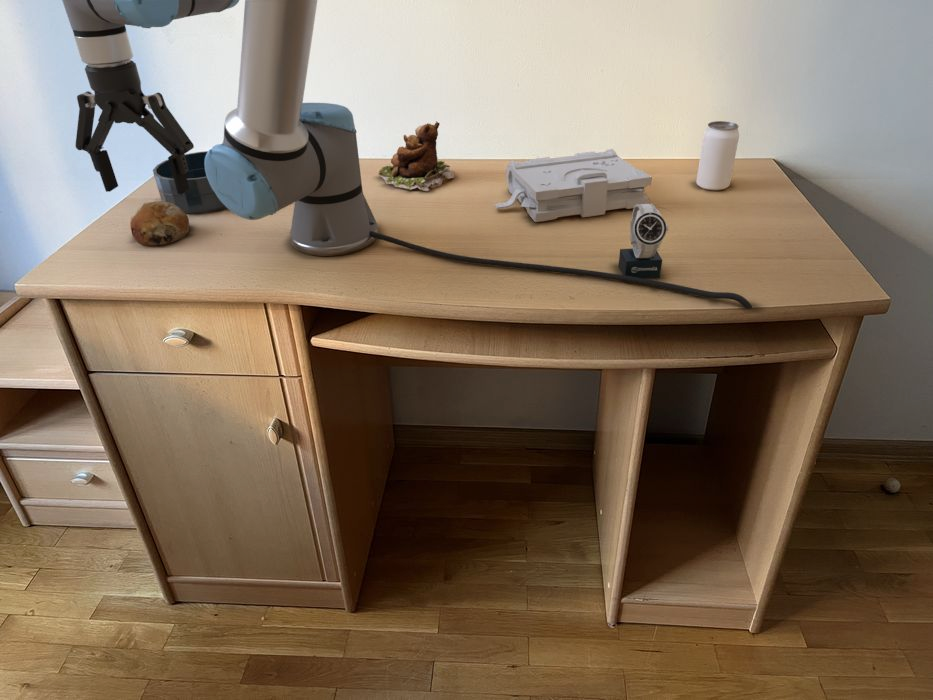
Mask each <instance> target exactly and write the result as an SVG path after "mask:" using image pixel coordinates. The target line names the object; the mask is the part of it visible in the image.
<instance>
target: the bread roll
mask: <svg viewBox="0 0 933 700" xmlns="http://www.w3.org/2000/svg"><path fill="white" fill-rule="evenodd" d="M189 222H190V219H189V216H188V215H187V213H185V212H184V211H183V210H182V209H180V208H179V207H177V206H176V205H173V204H171V203H168V202H164V201H162V200H155V201H150V202H144V203H143V205H141V206H140V207H139V208H138V209H137V210H136V212H135V213H134V215H133V216H131V218H130V231H131V235H132V238H133V239H134V240H135V241H136V242H137V243H138V244H140V245H142V246H164V245H167V244H171V243H174V242H176V241H179V240H180V239H182V238H184V237H186V235H187V233H189V231H190V223H189Z"/></svg>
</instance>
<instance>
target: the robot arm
mask: <svg viewBox="0 0 933 700" xmlns="http://www.w3.org/2000/svg"><path fill="white" fill-rule="evenodd" d="M61 1H62V4H63V6H64V9H65V13H66V15H67V19H68V22H69V25H70V28H71V30H72V34H73V37H74V41H75V44H76V47H77V49H78V54H79V57H80V60H81V62H82V63H83V64H86V65H85V68H84V71H85V74H86V77H87V80H88V83H89V87H90V89H91V90H92V91H93V92H94V94H93V93H92V92H91V91H89V90H88V91H87V90H86V91H85V92H82V93H80V94H77V96H76V101H77V104H78V108H79V109H78V120H77V127H76V135H75V136H76V137H75V146H74V147H75V148H76V150H77V151H85V152H86V153H87V154H88V155H89V156H90V159H91V163H92V165H93V167H94V170H95V172H96V173H97V172H98V173H99V175H100V178H101V181H102V185H103V187H104V190H105V192H107V193H110V192H112V191H113V190H115V189H116V188H118V187H119V183H118V180H117V178H116V175H115V174H116V173H115V172H114V171H115V170H114V168H113V164H112V163H111V159H110V155H109V153H108V150H107V149H104V144H105V142H106V139H107V137H108V135H109V133H110V131H111V129H112V127H113V125H114V123H115V124H121V123H126V124H136V125H137V126H139V127H141V128H143V129H144V130H145V131H146V132H147V133H148V134H149V135H150V136H151V137H152V138H153V139H154V140H155V141H157V142H158V143H159V144H160V145H161V146H162V147H163V148H164V149H165V150H166V151H167V152H168V153H169V154H170V155H169V156H168V157H167V160H168V159H169V163H170V167H171V170H172V174H173V178H174V181H175V185H176V189H177V192H178V194H183V193H185V192H186V191H187V190H188V189H189V185H188V181H187V177H186V174H185V173H187V172H188V166H187V162H186V158H185V154H188V152H190V151H192V150H193V149H194V147H195V145H194V142H192V140H191V139H190V137H189V136H188V134H187V133H186V132H185V130H184V129H183V127H182V125H180V124H179V122H178V121H177V119H176V118H175V116H174V115H173V113H172V112H171V111H170V109H169V108H168V107H167V105H166V102H165V99H164V96H163V95H162V93H161V92H156V93H153V94H149V95H146V94H144V93H143V90H142V81H141V77H140V74H139V70H138V67H137V64H136V62H134V60H132V59H133V57H134V53H133V51H132V47H131V46H132V45H131V43H130V38H129V35H128V31H127V28H126V26H134V27H138V28H142V29H151V28H165V27H167V26H169V25H170V24H171V23H172V22H173V21H174V20H179V19H184V18H189V17H194V16H199V15H200V16H201V15H205V14H211V13H212V14H213V13H221V12H224V11H225V10H229V9H232V8H235V6H237V5H238V4H239V1H240V0H61ZM317 6H318V0H244V9H243V25H242V26H243V27H242V35H241V36H242V38H241V50H240V51H241V52H240V65H239V78H238V89H237V90H238V92H237V93H238V94H237V104H236V105H237V106H236V107H235V108H234V109H231V111H229V112H228V113H227V114H226V116H225V119H224V127H223V128H224V129H223V140H222V143H220V144H215V145H213V146H212V148H211V149H208V150H207V151H208V152H207V154H206V156H205V172H206V176H207V179H208V181H209V183H210V186H211V188H212V189H213V191H214V192H215V193H216V195H217V197H218V198H219V200H220V201H221V202H222V203H223V204H224V205H225V206H226V207H227V208H226V209H228V210H229V211H230V212H232V213H233V214H235V215H236V216H237V217H239V218H242V219H245V220H248V221H257V220H260V219H263V218H265V217H268V216H272V215H274V214H276V213H277V212H279V211H281V210H283V209H285V208H286V207H288V206H290V205H292V204H294V205H293V206H294V207H293V212H292V218H291V226H290V238H291V244H292V246H293V248H294V249H295V250H297V251H298V252H300V253H304V254H306V255H311V256H319V257H332V256H342V255H347V254H351V253H355V252H358V251H360V250H361V251H362V250H363V249H365V248H367V247H369V246H370V245H371V244H374V242H375V241H376V240H377V239H378V240H381V241H384V242H388V243H391V244H393V245H397V246H400V247H403V248H405V249H409V250H412V251H416V252H420V253H422V254H427V255H430V256H434V257H438V258H442V259H446V260H450V261H451V260H452V261H456V262H462V263H469V264H475V265H476V264H477V265H483V266H484V265H485V266H493V267H494V266H495V267H502V268H510V269H521V270H530V271H537V272H538V271H539V272H548V273H549V272H550V273H556V274H557V273H558V274H566V275H574V276H583V277H590V278H591V277H592V278H598V279H605V280H610V281H611V280H612V281H617V282H618V281H619V282H625V283H631V284H637V285H643V286H648V287H652V288H659V289H664V290H668V291H674V292H679V293H683V294H688V295H692V296H697V297H703V298H707V299H715V300H716V299H722V300H723V299H724V300H732V301H736V302H737V303H739V304H741V305H742V306H743V308H744V309H745V308H746V309H753V306H752V304H751V303H750V302H749V300H748V299H747V298H745V297H744V296H743V295H740V294H738V293H735V292H727V291H724V292H723V291H710V290H709V291H708V290H704V289H700V288H699V289H698V288H693V287H688V286H684V285H679V284H675V283H670V282H665V281H658V280H653V279H650V278H645V279H643V278H637V277H632V276H625V275H622V274H618V273H611V272H605V271H604V272H603V271H597V270H589V269H581V268H573V267H564V266H554V265H546V264H537V263H527V262H526V263H525V262H517V261H509V260H498V259H490V258H480V257H472V256H465V255H460V254H454V253H450V252H445V251H440V250H436V249H432V248H429V247H424V246H422V245H418V244H415V243H411V242H409V241H405V240H402V239H399V238H395V237H393V236H389V235H386V234H382V233H379V229H378V223H377V220H376V218H375V216H374V214H373V212H372V209H371V207H370V204H369V203H368V201H367V199H366V197H365V194H364V191H363V184H362V183H363V182H362V175H361V174H362V173H361V164H360V158H359V157H360V156H359V149H358V140H357V129H356V126H355V121H354V115H353V113H352V111H351V110H350V109H349V108H348V107H346V106H344V105H341V104H337V103H329V102H304V95H305V91H306V90H305V89H306V82H307V75H308V69H309V68H308V67H309V61H310V54H311V48H312V40H313V33H314V27H315V21H316V14H317V8H318V7H317ZM96 106H97V107H98V108H99V109H100V110H101V113H100V114H99V117H98V123H97V125H96V127H95V129H94V131H93V128H94V120H95V113H96ZM146 107H147V108H146ZM150 109H151V111H152V112H151V111H150ZM155 118H156V119H157V120H156V119H155Z"/></svg>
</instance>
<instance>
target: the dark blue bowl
mask: <svg viewBox="0 0 933 700" xmlns="http://www.w3.org/2000/svg"><path fill="white" fill-rule="evenodd" d="M208 151H209V150H205V151H196V152H189V153H185V158H186V162H187V166H188V172H187V173H185V174H186V177H187V181H188V185H189V189H188V190H187V191H186V192H185V193H183V194H178V192H177V189H176V185H175V181H174V178H173V174H172V170H171V167H170V163H169V159H168V158H167V159H166V160H165V159H164V160H163V161H161V162H160V163H157V164H156V165H155V167H154V168H153V169H152V172H153V177H154V180H155V184H156V187H157V190H158V193H159V197H160V201H164V202H168V203H171V204H173V205H176V206H177V207H179V208H180V209H182V210H183V211H184V212H185V213H186V214H191V215H192V214H205V213H211V212H217V211H221V210H225V209H228V208H227V207H226V206H225V205H224V204H223V203H222V202H221V201H220V200H219V198H218V197H217V195H216V193H215V192H214V191H213V189H212V188H211V186H210V183H209V181H208V179H207V176H206V172H205V156H206V154H207V152H208Z"/></svg>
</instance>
